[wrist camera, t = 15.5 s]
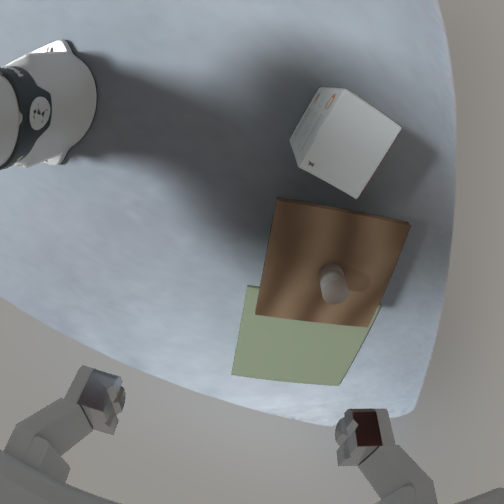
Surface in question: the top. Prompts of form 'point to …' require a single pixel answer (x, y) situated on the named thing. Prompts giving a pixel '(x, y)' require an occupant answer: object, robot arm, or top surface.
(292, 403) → the top surface
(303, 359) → the olive mat
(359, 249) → the walnut lid
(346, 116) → the small box
